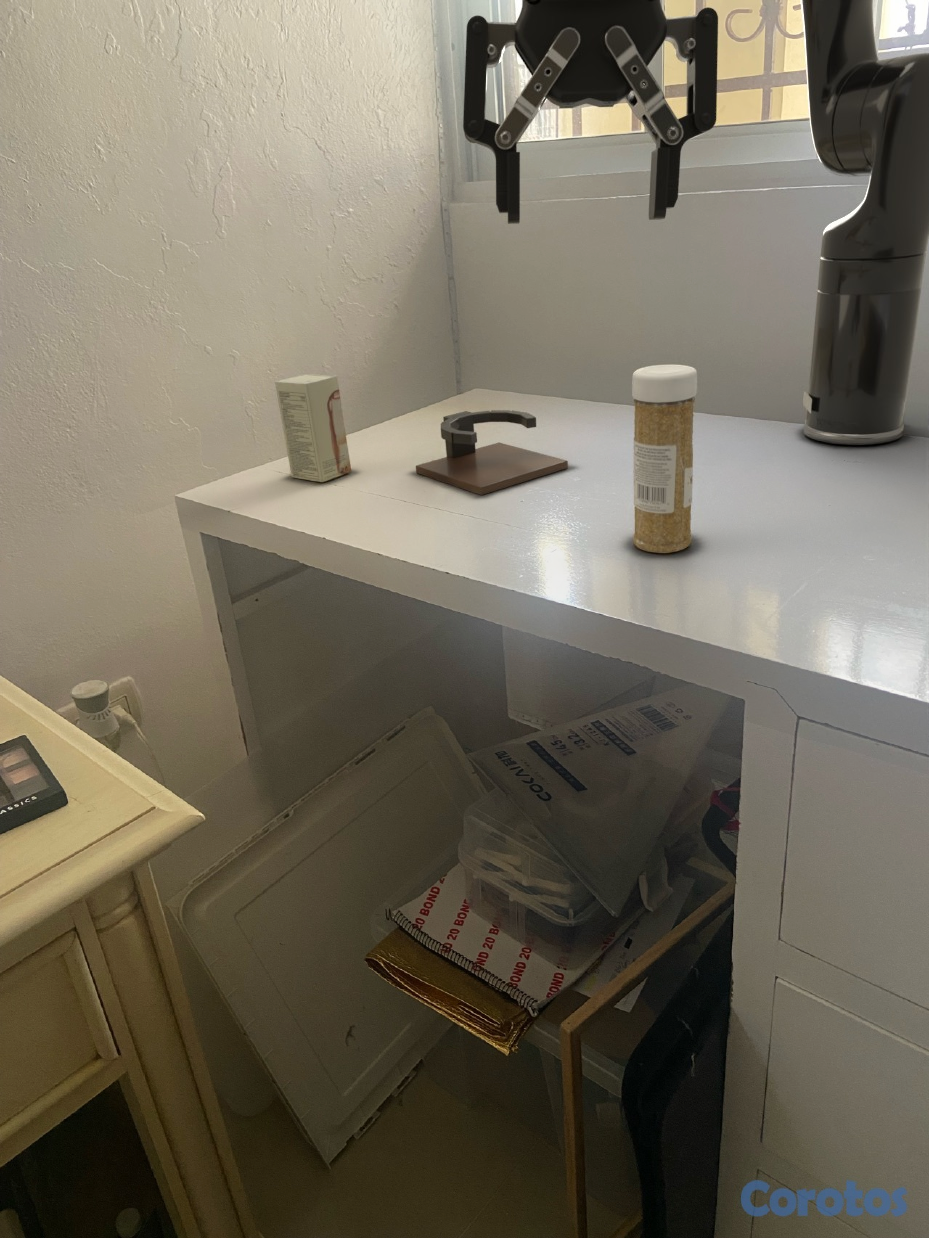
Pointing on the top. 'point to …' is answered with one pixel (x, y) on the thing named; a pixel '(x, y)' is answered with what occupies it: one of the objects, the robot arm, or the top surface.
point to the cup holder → (486, 455)
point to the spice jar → (663, 456)
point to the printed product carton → (313, 426)
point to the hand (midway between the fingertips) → (584, 221)
